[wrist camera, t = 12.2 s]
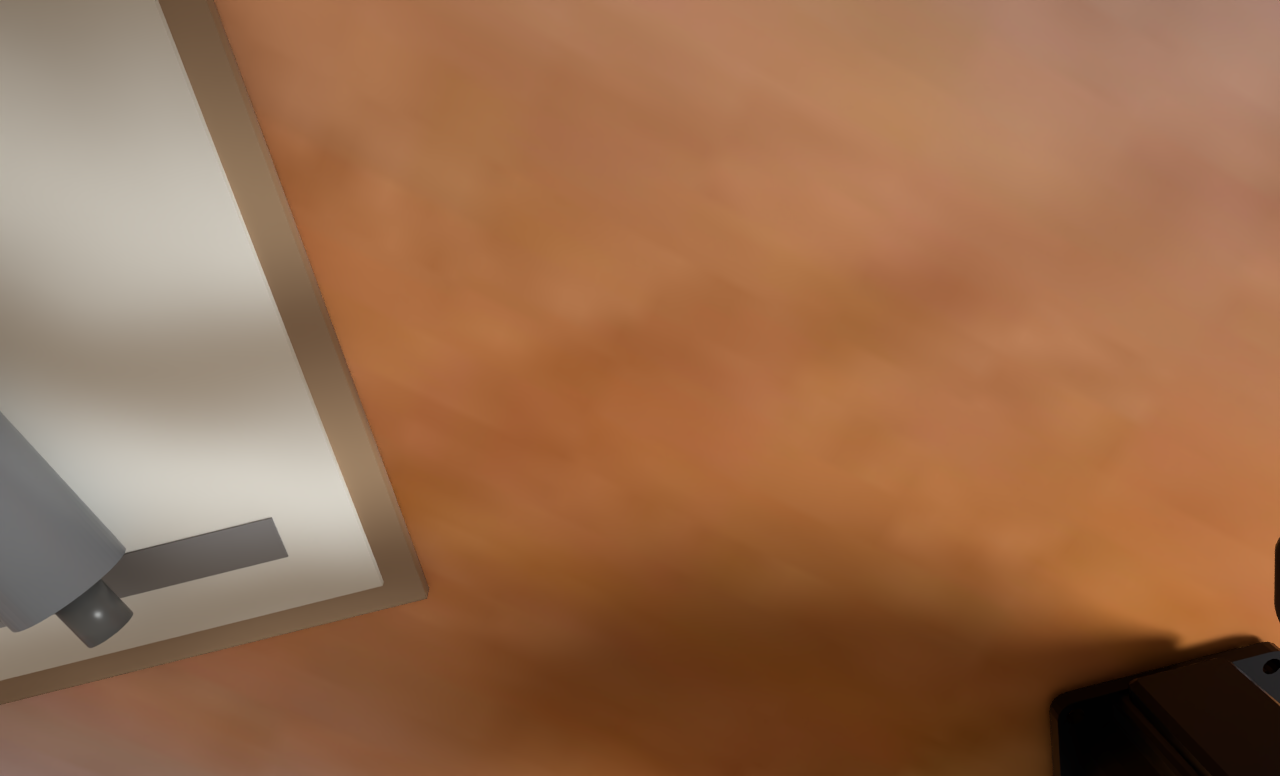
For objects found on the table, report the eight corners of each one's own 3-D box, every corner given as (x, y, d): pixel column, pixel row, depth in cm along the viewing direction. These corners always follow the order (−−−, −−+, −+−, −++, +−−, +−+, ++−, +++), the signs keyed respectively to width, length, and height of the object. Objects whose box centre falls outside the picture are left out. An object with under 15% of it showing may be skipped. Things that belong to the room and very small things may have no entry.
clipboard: (429, 588, 21) (424, 610, 20) (-74, 714, 20) (-100, 741, 20) (144, -188, 15) (120, -204, 14) (-564, -27, 15) (-631, -33, 14)
